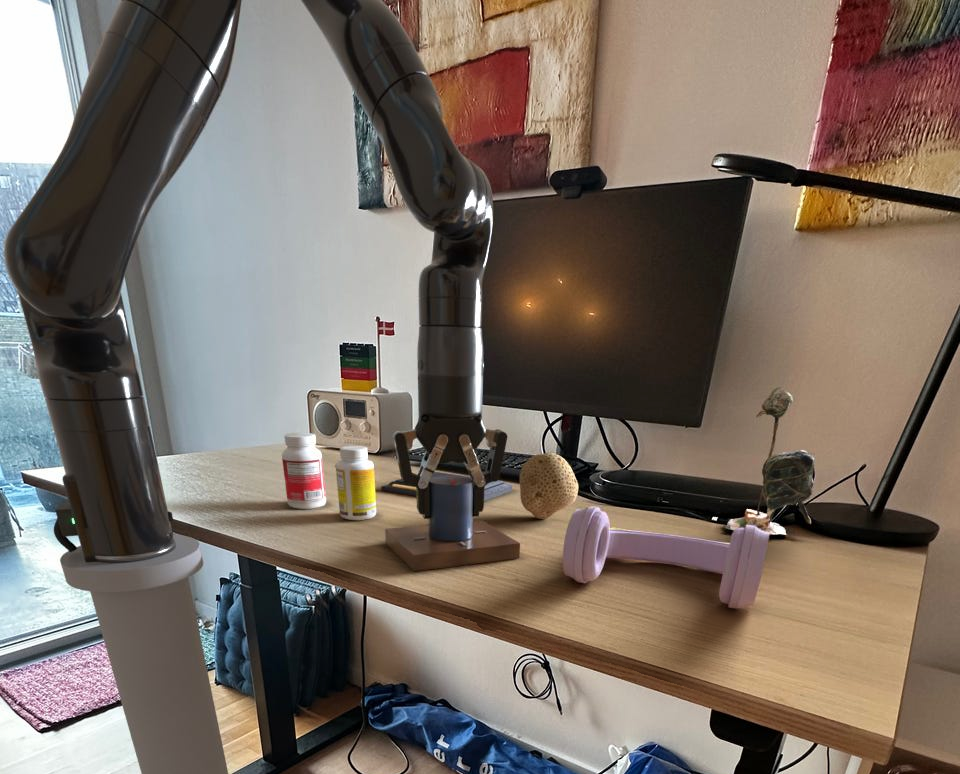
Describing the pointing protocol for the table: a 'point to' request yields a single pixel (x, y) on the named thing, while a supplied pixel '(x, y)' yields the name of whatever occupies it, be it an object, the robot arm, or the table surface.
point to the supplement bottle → (355, 484)
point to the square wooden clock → (450, 547)
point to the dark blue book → (489, 491)
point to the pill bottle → (303, 472)
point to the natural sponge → (547, 485)
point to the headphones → (666, 553)
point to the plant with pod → (780, 475)
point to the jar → (451, 508)
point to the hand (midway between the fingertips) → (450, 515)
